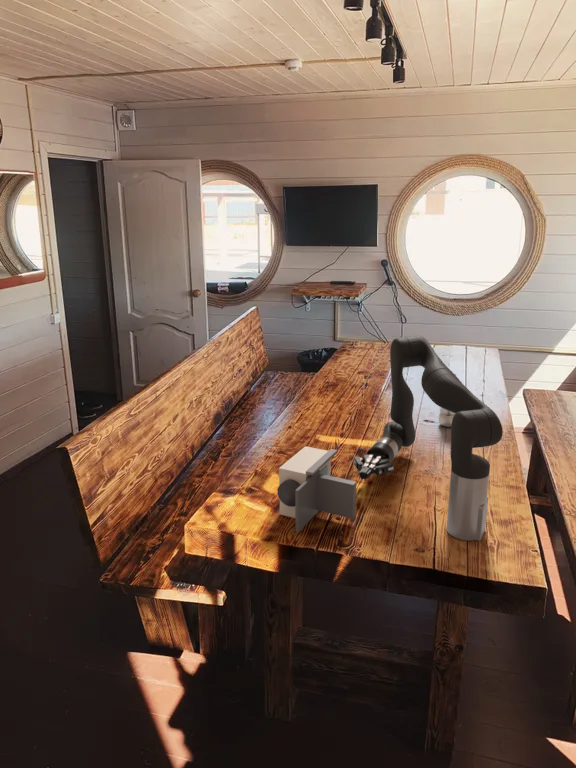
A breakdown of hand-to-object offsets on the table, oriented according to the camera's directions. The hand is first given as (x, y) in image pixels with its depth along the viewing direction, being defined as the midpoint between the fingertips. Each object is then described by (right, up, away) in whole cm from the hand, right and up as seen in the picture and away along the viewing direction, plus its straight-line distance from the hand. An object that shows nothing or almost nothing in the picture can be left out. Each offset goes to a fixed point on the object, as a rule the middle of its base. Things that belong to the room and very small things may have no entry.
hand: (362, 476), depth 173 cm
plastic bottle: (+38, +10, +54) cm, 67 cm away
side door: (-11, -11, -14) cm, 21 cm away
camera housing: (-16, -8, -2) cm, 18 cm away
